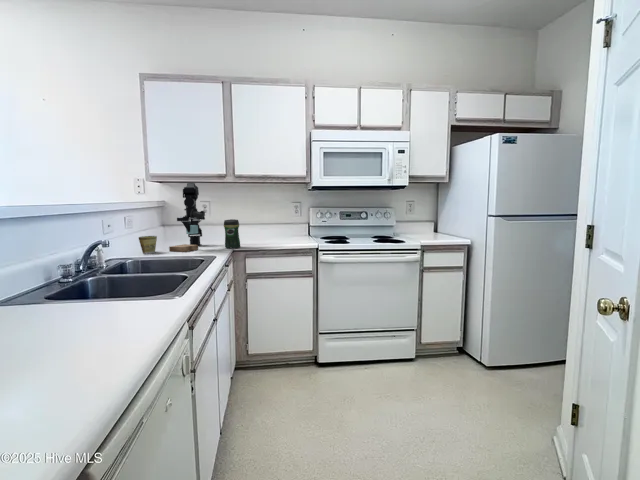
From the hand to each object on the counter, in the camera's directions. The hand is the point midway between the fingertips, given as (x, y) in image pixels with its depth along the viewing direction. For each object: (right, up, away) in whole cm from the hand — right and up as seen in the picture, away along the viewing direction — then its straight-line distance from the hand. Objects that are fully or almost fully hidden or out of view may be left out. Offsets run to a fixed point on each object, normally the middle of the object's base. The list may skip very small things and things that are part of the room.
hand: (192, 231), depth 222 cm
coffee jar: (+24, -10, +7) cm, 27 cm away
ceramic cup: (-24, -13, -6) cm, 28 cm away
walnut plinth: (-5, -12, -1) cm, 13 cm away
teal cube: (0, -1, 0) cm, 1 cm away
